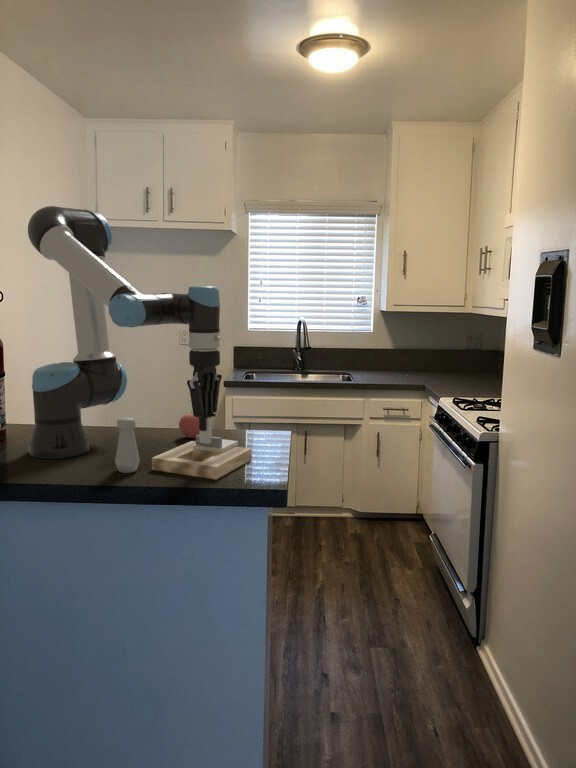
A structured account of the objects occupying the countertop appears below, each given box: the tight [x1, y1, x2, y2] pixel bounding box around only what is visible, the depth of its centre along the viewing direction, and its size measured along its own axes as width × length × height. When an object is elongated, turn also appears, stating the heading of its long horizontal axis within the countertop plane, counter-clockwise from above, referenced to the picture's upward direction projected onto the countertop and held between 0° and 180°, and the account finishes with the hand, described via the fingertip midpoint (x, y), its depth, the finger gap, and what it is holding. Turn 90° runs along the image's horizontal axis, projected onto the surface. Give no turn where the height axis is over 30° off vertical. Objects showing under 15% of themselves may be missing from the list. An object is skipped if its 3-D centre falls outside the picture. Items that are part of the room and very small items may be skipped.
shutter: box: [193, 435, 239, 453], centre depth 162 cm, size 8×8×4 cm
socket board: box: [151, 440, 252, 480], centre depth 157 cm, size 18×18×3 cm
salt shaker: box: [114, 416, 141, 474], centre depth 151 cm, size 6×6×13 cm
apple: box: [178, 411, 199, 439], centre depth 183 cm, size 7×7×8 cm
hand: (205, 442), depth 158 cm, fingers closed
